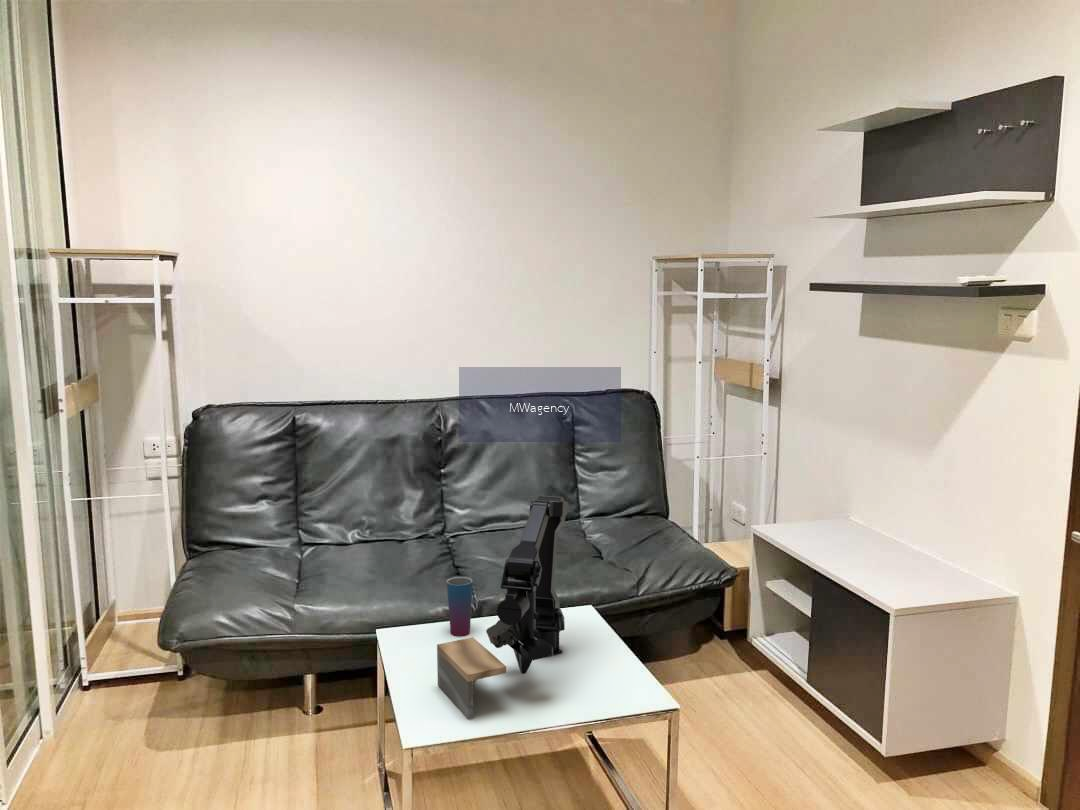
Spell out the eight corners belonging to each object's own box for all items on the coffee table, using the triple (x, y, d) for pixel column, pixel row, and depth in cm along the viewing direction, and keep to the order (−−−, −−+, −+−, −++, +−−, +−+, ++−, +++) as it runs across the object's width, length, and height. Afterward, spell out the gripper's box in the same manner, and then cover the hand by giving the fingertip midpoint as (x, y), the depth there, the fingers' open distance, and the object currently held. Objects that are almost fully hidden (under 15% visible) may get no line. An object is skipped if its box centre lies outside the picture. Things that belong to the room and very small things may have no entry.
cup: (469, 641, 223) (468, 586, 221) (444, 639, 224) (443, 584, 222) (476, 631, 229) (475, 577, 227) (451, 629, 231) (451, 575, 229)
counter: (473, 677, 202) (473, 637, 200) (506, 710, 186) (506, 666, 185) (437, 685, 197) (437, 644, 196) (468, 719, 182) (467, 674, 180)
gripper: (474, 601, 200) (475, 664, 202) (508, 629, 184) (508, 697, 186) (517, 593, 205) (517, 655, 207) (554, 620, 189) (554, 686, 191)
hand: (523, 673), depth 197 cm, fingers closed
